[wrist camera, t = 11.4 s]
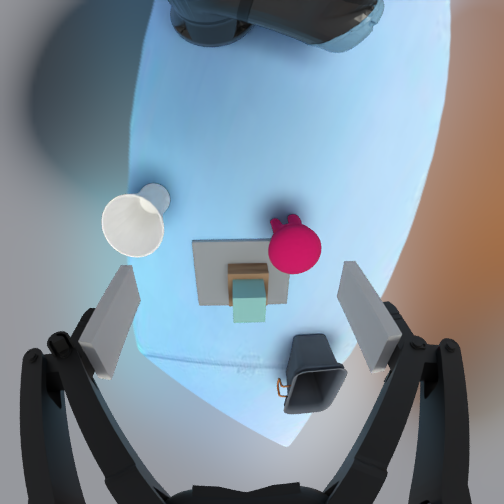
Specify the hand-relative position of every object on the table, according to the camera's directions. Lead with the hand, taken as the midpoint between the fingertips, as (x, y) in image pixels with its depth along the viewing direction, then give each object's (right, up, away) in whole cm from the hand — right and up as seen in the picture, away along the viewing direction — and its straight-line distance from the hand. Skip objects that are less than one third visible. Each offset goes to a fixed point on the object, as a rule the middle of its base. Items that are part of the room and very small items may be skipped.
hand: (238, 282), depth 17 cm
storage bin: (+14, -27, +58) cm, 65 cm away
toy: (+7, +8, +38) cm, 40 cm away
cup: (-18, +12, +34) cm, 41 cm away
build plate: (-1, -3, +43) cm, 43 cm away
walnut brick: (0, -4, +43) cm, 43 cm away
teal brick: (0, -6, +40) cm, 40 cm away
